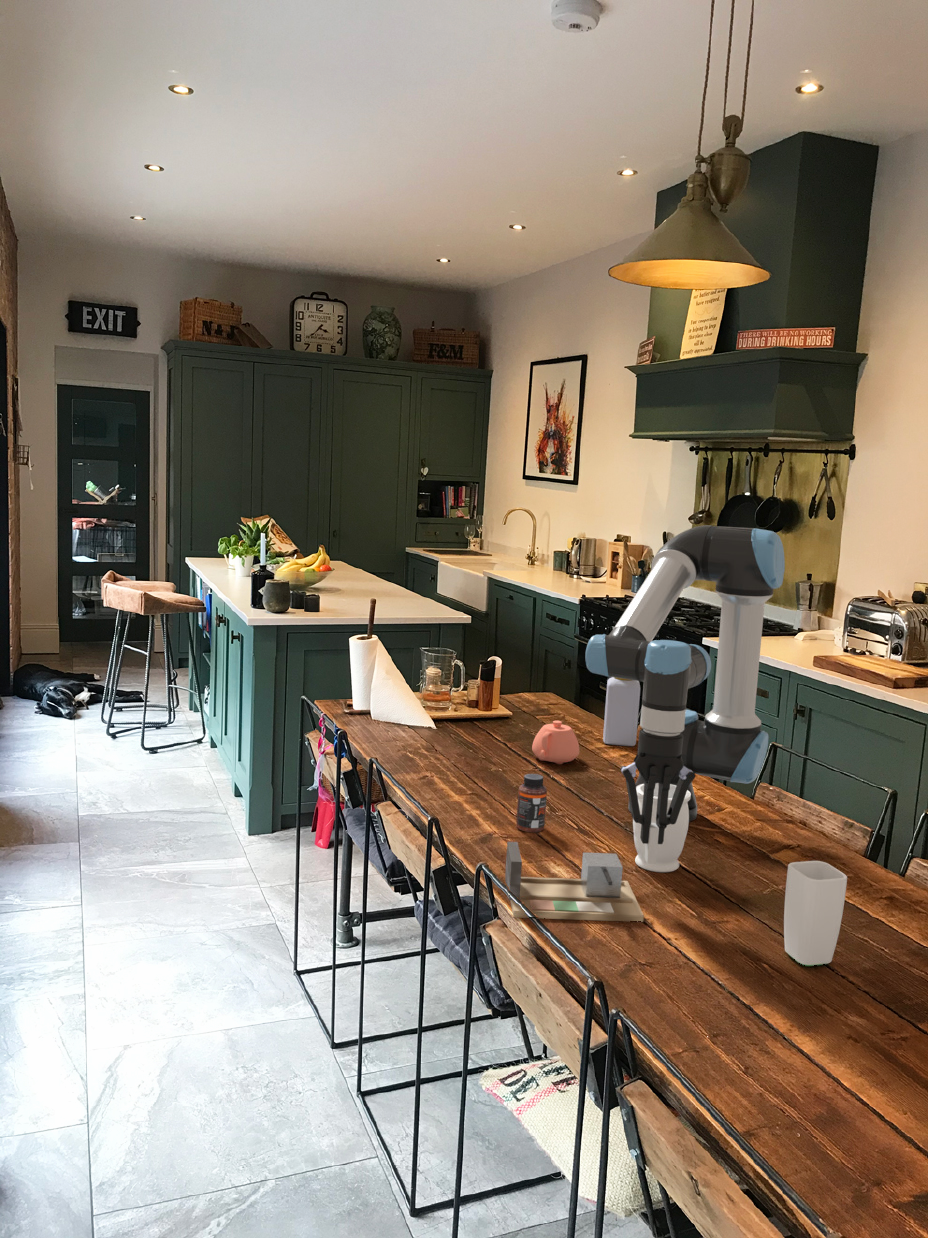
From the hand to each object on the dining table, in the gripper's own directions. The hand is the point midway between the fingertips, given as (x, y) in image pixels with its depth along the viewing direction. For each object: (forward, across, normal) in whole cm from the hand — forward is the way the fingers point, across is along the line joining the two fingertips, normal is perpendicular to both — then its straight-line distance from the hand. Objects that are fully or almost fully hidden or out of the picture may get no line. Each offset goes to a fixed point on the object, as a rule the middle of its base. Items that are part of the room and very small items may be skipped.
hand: (649, 860), depth 175 cm
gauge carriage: (+6, +8, +2) cm, 11 cm away
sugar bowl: (+7, +6, -84) cm, 84 cm away
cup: (+8, -22, +19) cm, 30 cm away
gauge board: (+8, +13, +1) cm, 15 cm away
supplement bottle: (+8, +17, -34) cm, 39 cm away
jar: (+8, -6, -17) cm, 19 cm away
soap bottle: (+7, -15, -104) cm, 105 cm away
